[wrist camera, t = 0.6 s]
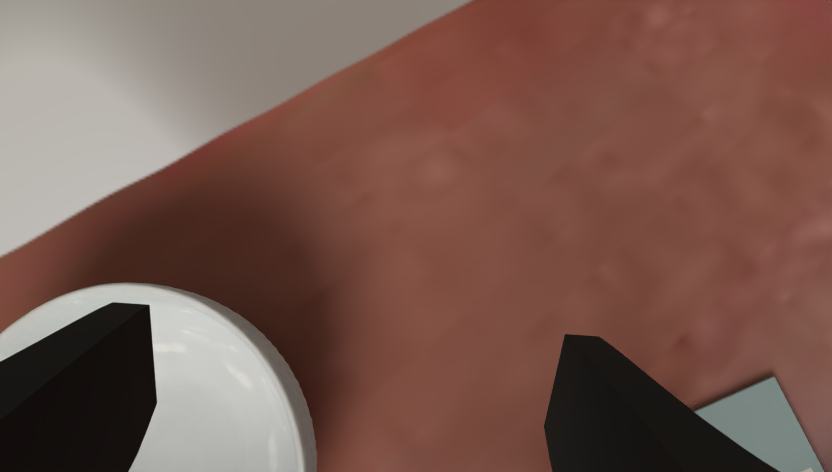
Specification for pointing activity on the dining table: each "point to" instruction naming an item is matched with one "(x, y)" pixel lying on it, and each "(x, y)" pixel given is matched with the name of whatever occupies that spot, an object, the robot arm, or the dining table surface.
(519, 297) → the dining table surface
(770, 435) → the mat
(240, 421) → the cereal bowl
